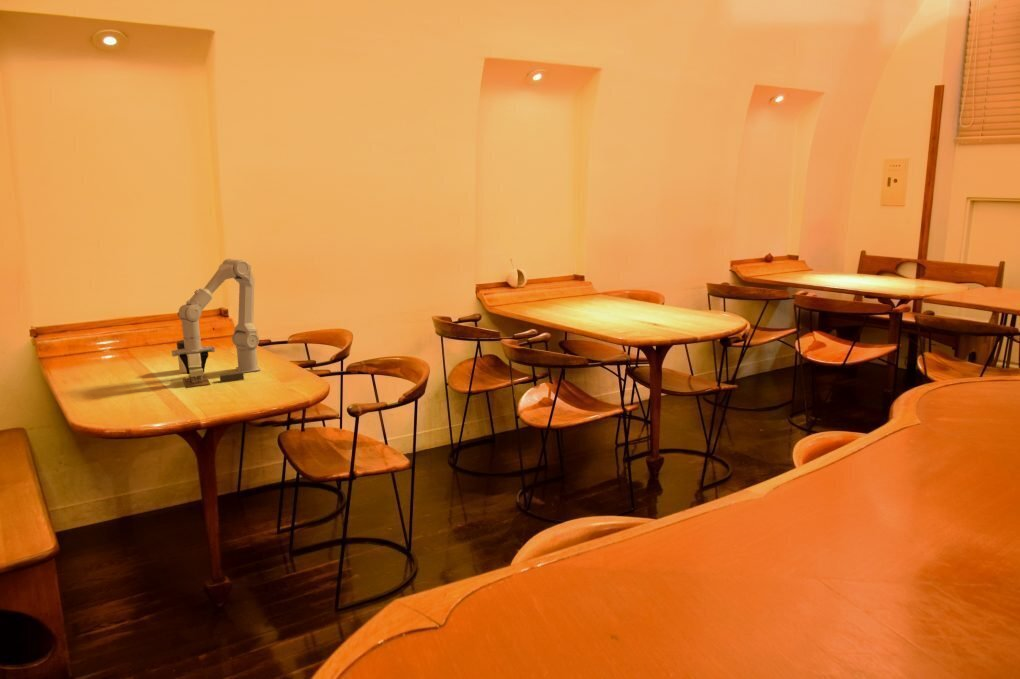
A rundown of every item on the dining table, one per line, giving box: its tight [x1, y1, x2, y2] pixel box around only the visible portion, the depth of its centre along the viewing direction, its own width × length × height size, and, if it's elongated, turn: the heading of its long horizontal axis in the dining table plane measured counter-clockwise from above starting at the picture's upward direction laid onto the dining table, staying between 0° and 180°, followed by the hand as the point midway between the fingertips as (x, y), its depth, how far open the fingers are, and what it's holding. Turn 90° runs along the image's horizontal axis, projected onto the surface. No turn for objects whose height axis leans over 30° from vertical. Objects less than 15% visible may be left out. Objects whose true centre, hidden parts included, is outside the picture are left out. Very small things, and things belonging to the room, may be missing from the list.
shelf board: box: [188, 365, 205, 378], centre depth 274 cm, size 10×4×2 cm, turn 29°
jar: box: [176, 339, 201, 374], centre depth 291 cm, size 9×8×12 cm
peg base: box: [182, 375, 211, 389], centre depth 274 cm, size 14×8×3 cm, turn 29°
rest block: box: [219, 371, 245, 383], centre depth 276 cm, size 3×8×2 cm, turn 119°
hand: (195, 372), depth 274 cm, fingers closed on shelf board, 4 cm apart
